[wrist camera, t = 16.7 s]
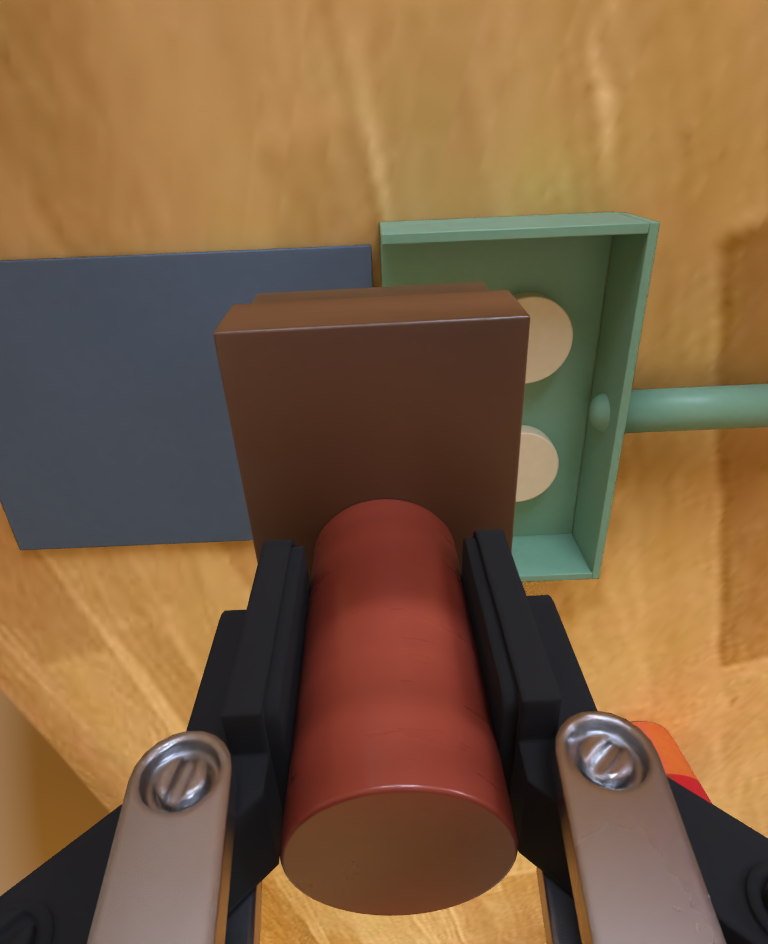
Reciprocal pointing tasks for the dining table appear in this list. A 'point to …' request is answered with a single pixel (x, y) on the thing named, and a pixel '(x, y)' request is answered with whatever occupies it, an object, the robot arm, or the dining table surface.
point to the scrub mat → (132, 391)
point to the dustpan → (571, 360)
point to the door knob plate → (385, 572)
